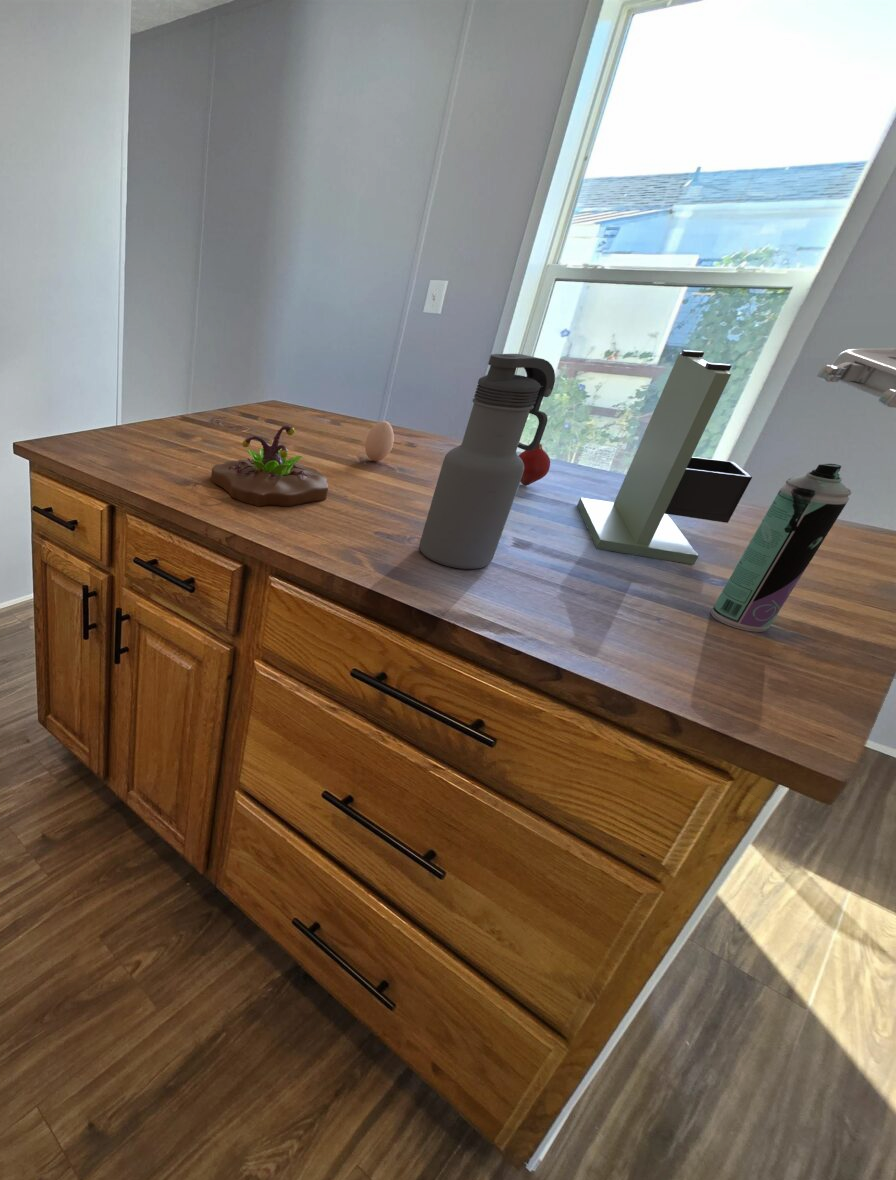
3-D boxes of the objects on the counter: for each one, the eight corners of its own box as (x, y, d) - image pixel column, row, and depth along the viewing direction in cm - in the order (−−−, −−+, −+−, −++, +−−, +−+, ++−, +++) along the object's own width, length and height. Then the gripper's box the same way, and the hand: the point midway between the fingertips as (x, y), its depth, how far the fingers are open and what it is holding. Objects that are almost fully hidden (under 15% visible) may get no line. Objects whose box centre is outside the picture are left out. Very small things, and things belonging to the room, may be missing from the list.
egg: (389, 459, 137) (398, 419, 133) (387, 466, 132) (397, 425, 128) (362, 455, 139) (371, 416, 134) (360, 462, 134) (369, 422, 130)
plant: (347, 502, 115) (361, 439, 109) (245, 510, 110) (254, 445, 105) (291, 466, 131) (300, 410, 126) (200, 472, 127) (206, 414, 122)
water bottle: (462, 539, 101) (523, 348, 87) (509, 568, 93) (585, 362, 79) (403, 544, 99) (457, 350, 85) (446, 574, 91) (513, 363, 77)
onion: (503, 478, 127) (516, 437, 123) (535, 481, 126) (550, 440, 122) (513, 488, 122) (527, 446, 118) (547, 491, 121) (562, 448, 117)
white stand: (685, 521, 109) (769, 353, 96) (724, 570, 93) (831, 376, 80) (577, 505, 115) (642, 344, 102) (596, 548, 99) (676, 364, 86)
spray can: (767, 637, 78) (869, 476, 68) (709, 620, 81) (797, 464, 71) (768, 620, 81) (864, 464, 71) (711, 604, 85) (796, 453, 75)
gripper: (1035, 446, 76) (909, 441, 77) (881, 387, 93) (778, 383, 93) (1085, 392, 72) (952, 387, 73) (915, 341, 89) (808, 337, 90)
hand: (853, 385), depth 83 cm, fingers open, 8 cm apart
